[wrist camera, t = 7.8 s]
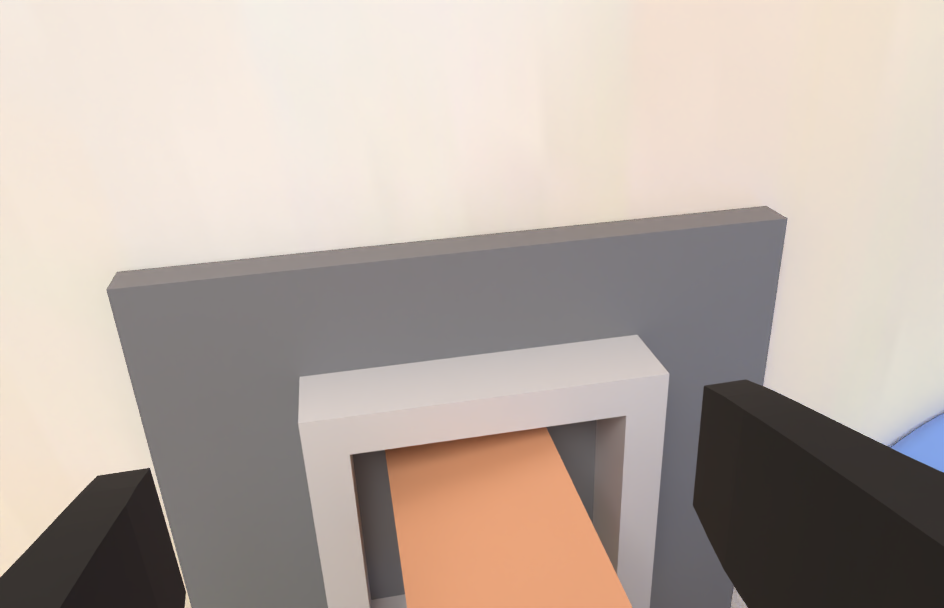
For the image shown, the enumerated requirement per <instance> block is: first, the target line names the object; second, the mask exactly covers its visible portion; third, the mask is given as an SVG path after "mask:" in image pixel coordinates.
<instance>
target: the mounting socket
mask: <svg viewBox="0 0 944 608" xmlns="http://www.w3.org/2000/svg"><path fill="white" fill-rule="evenodd" d="M786 225H787V218H786V217H784V216H782V215H781V214H779V213H777V212H776V211H774V210H772V209H770V208H769V207H767V206H762V207H752V208H742V209H732V210H723V211H713V212H703V213H693V214H683V215H673V216H664V217H654V218H644V219H634V220H624V221H614V222H605V223H595V224H585V225H575V226H565V227H555V228H545V229H536V230H526V231H516V232H506V233H496V234H486V235H477V236H467V237H457V238H447V239H437V240H427V241H418V242H408V243H398V244H388V245H378V246H368V247H358V248H349V249H339V250H329V251H319V252H309V253H299V254H290V255H280V256H270V257H260V258H250V259H240V260H231V261H221V262H211V263H201V264H191V265H181V266H171V267H162V268H152V269H142V270H132V271H122V272H117V273H116V275H115V276H114V278H113V280H112V281H111V283H110V285H109V286H108V288H107V293H108V297H109V301H110V304H111V308H112V312H113V316H114V319H115V323H116V327H117V331H118V334H119V338H120V342H121V346H122V349H123V353H124V357H125V360H126V364H127V368H128V372H129V375H130V379H131V383H132V387H133V390H134V394H135V398H136V402H137V405H138V409H139V413H140V416H141V420H142V424H143V428H144V431H145V435H146V439H147V443H148V446H149V450H150V454H151V458H152V461H153V465H154V469H155V472H156V476H157V480H158V484H159V487H160V491H161V495H162V499H163V502H164V506H165V510H166V514H167V517H168V521H169V525H170V528H171V532H172V536H173V540H174V543H175V547H176V551H177V555H178V558H179V562H180V566H181V570H182V573H183V577H184V581H185V584H186V588H187V592H188V596H189V599H190V603H191V607H192V608H407V604H406V597H405V589H404V582H403V575H402V568H401V561H400V554H399V547H398V540H397V532H396V525H395V518H394V511H393V504H392V497H391V490H390V482H389V475H388V468H387V461H386V454H385V450H386V449H393V448H400V447H407V446H415V445H422V444H429V443H436V442H443V441H450V440H457V439H464V438H471V437H478V436H485V435H492V434H500V433H507V432H514V431H521V430H528V429H535V428H542V427H546V428H547V430H548V432H549V434H550V436H551V438H552V440H553V442H554V445H555V447H556V449H557V451H558V453H559V455H560V457H561V459H562V461H563V463H564V465H565V468H566V470H567V472H568V474H569V476H570V478H571V480H572V482H573V484H574V486H575V488H576V491H577V493H578V495H579V497H580V499H581V501H582V503H583V505H584V507H585V509H586V511H587V513H588V516H589V518H590V520H591V522H592V524H593V526H594V528H595V530H596V532H597V534H598V536H599V539H600V541H601V543H602V545H603V547H604V549H605V551H606V553H607V555H608V557H609V559H610V562H611V564H612V566H613V568H614V570H615V572H616V574H617V576H618V578H619V580H620V582H621V585H622V587H623V589H624V591H625V593H626V595H627V597H628V599H629V601H630V603H631V605H632V608H730V606H731V599H732V592H733V586H734V585H733V584H732V582H731V580H730V579H729V577H728V576H727V574H726V572H725V571H724V569H723V567H722V565H721V563H720V561H719V559H718V557H717V555H716V553H715V551H714V549H713V547H712V545H711V543H710V541H709V539H708V537H707V535H706V533H705V530H704V528H703V526H702V524H701V522H700V520H699V518H698V515H697V513H696V511H695V509H694V507H693V496H694V485H695V475H696V464H697V453H698V443H699V432H700V421H701V411H702V400H703V389H704V386H705V385H711V384H718V383H725V382H731V381H738V380H745V379H746V380H749V381H751V382H754V383H756V384H759V385H761V386H763V381H764V375H765V368H766V361H767V354H768V347H769V340H770V334H771V327H772V320H773V313H774V306H775V300H776V293H777V286H778V279H779V272H780V266H781V259H782V252H783V245H784V238H785V231H786Z"/></svg>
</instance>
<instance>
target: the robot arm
mask: <svg viewBox="0 0 944 608" xmlns="http://www.w3.org/2000/svg"><path fill="white" fill-rule="evenodd" d="M693 507H694V509H695V511H696V513H697V515H698V518H699V520H700V522H701V524H702V526H703V528H704V530H705V533H706V535H707V537H708V539H709V541H710V543H711V545H712V547H713V549H714V551H715V553H716V555H717V557H718V559H719V561H720V563H721V565H722V567H723V569H724V571H725V572H726V574H727V576H728V577H729V579H730V580H731V582H732V584H733V585H734V587H735V588H736V590H737V591H738V593H739V594H740V596H741V597H742V599H743V601H744V602H745V604H746V605H747V607H748V608H944V472H941V471H939V470H937V469H935V468H933V467H930V466H928V465H926V464H924V463H922V462H919V461H917V460H915V459H913V458H911V457H909V456H906V455H904V454H902V453H900V452H898V451H896V450H894V449H892V448H890V447H887V446H885V445H883V444H881V443H879V442H877V441H875V440H873V439H871V438H869V437H867V436H865V435H863V434H861V433H859V432H857V431H855V430H853V429H851V428H848V427H846V426H844V425H842V424H840V423H838V422H836V421H834V420H832V419H830V418H828V417H826V416H824V415H822V414H820V413H818V412H816V411H814V410H812V409H810V408H808V407H806V406H804V405H802V404H800V403H798V402H796V401H794V400H792V399H790V398H787V397H785V396H783V395H781V394H779V393H777V392H775V391H773V390H770V389H768V388H766V387H764V386H761V385H759V384H756V383H754V382H751V381H749V380H746V379H745V380H738V381H731V382H725V383H718V384H711V385H705V386H704V389H703V400H702V411H701V421H700V432H699V443H698V453H697V464H696V475H695V485H694V496H693ZM185 595H186V591H185V588H184V584H183V581H182V577H181V574H180V570H179V567H178V564H177V560H176V557H175V553H174V550H173V546H172V543H171V539H170V536H169V532H168V529H167V526H166V522H165V519H164V515H163V512H162V508H161V505H160V501H159V498H158V494H157V491H156V488H155V484H154V481H153V477H152V474H151V470H150V468H147V469H140V470H133V471H126V472H120V473H113V474H106V475H100V476H97V477H96V478H95V479H94V480H93V481H92V482H91V483H90V484H89V485H88V486H87V487H86V488H85V489H84V490H83V491H82V492H81V493H80V494H79V495H78V496H77V497H76V498H75V499H74V500H73V501H72V502H71V503H70V505H69V506H68V507H67V508H66V509H65V510H64V511H63V512H62V513H61V514H60V515H59V516H58V517H57V518H56V519H55V521H54V522H53V523H52V524H51V525H50V526H49V527H48V528H47V529H46V530H45V531H44V532H43V533H42V534H41V535H40V537H39V538H38V539H37V540H36V541H35V542H34V543H33V544H32V545H31V546H30V547H29V548H28V549H27V550H26V551H25V552H24V553H23V554H22V556H21V557H20V558H19V559H18V560H17V561H16V562H15V563H14V564H13V565H12V566H11V567H10V568H9V569H8V570H7V571H6V572H5V573H4V574H3V575H2V576H1V577H0V608H184V607H185Z"/></svg>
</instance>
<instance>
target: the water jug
mask: <svg viewBox="0 0 944 608" xmlns="http://www.w3.org/2000/svg"><path fill="white" fill-rule="evenodd" d="M891 448H892V449H894V450H896V451H898V452H900V453H902V454H904V455H906V456H909V457H911V458H913V459H915V460H917V461H919V462H922V463H924V464H926V465H928V466H930V467H933V468H935V469H937V470H939V471H941V472H944V413H943V414H941V415H939V416H937V417H936V418H934V419H932V420H930V421H929V422H927V423H925V424H924V425H922V426H921V427H919V428H917V429H916V430H914V431H913V432H911V433H910V434H908V435H907V436H906V437H904V438H903V439H901V440H900V441H899V442H897V443H896V444H895V445H893V446H892V447H891Z"/></svg>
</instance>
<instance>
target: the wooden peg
mask: <svg viewBox="0 0 944 608" xmlns="http://www.w3.org/2000/svg"><path fill="white" fill-rule="evenodd" d="M385 454H386V461H387V468H388V475H389V482H390V490H391V497H392V504H393V511H394V518H395V525H396V532H397V540H398V547H399V554H400V561H401V568H402V575H403V582H404V589H405V597H406V604H407V608H632V605H631V603H630V601H629V599H628V597H627V595H626V593H625V591H624V589H623V587H622V585H621V582H620V580H619V578H618V576H617V574H616V572H615V570H614V568H613V566H612V564H611V562H610V559H609V557H608V555H607V553H606V551H605V549H604V547H603V545H602V543H601V541H600V539H599V536H598V534H597V532H596V530H595V528H594V526H593V524H592V522H591V520H590V518H589V516H588V513H587V511H586V509H585V507H584V505H583V503H582V501H581V499H580V497H579V495H578V493H577V491H576V488H575V486H574V484H573V482H572V480H571V478H570V476H569V474H568V472H567V470H566V468H565V465H564V463H563V461H562V459H561V457H560V455H559V453H558V451H557V449H556V447H555V445H554V442H553V440H552V438H551V436H550V434H549V432H548V430H547V428H546V427H542V428H535V429H528V430H521V431H514V432H507V433H500V434H492V435H485V436H478V437H471V438H464V439H457V440H450V441H443V442H436V443H429V444H422V445H415V446H407V447H400V448H393V449H386V450H385Z"/></svg>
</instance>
